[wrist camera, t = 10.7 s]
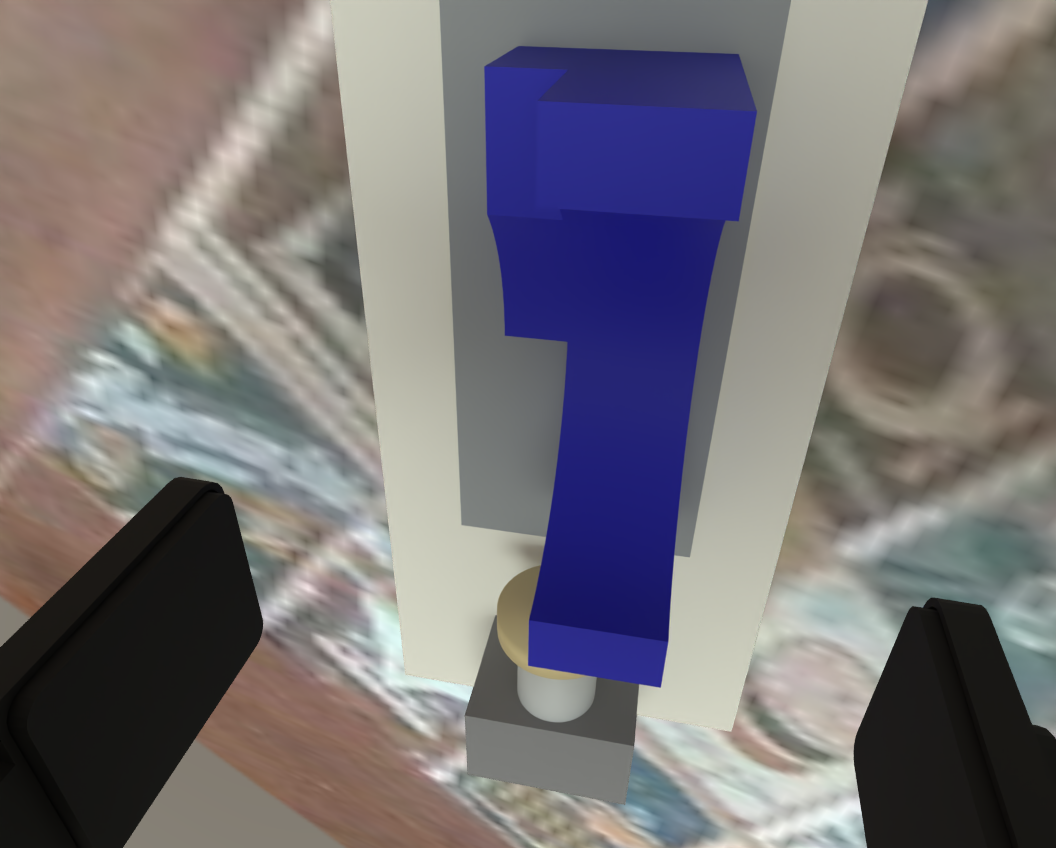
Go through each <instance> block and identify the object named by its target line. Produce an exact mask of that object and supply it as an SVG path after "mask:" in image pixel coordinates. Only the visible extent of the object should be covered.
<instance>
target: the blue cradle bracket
mask: <svg viewBox="0 0 1056 848" xmlns="http://www.w3.org/2000/svg"><path fill="white" fill-rule="evenodd" d="M484 78H485V130H486V182H487V216H488V218H489V221H490V224H491V227H492V230H493V234H494V238H495V241H496V246H497V251H498V256H499V263H500V270H501V278H502V288H503V301H504V324H505V336H512V337H523V338H533V339H543V340H554V341H564V342H567V360H566V375H565V389H564V401H563V412H562V422H561V432H560V441H559V450H558V459H557V467H556V474H555V482H554V489H553V496H552V503H551V510H550V516H549V522H548V528H547V534H546V540H545V546H544V551H543V557H542V562H541V567H540V572H539V577H538V582H537V587H536V591H535V596H534V600H533V605H532V609H531V613H530V617H529V636H528V666H532V667H538V668H544V669H550V670H556V671H562V672H568V673H574V674H580V675H586V676H592V677H598V678H604V679H610V680H616V681H623V682H629V683H635V684H641V685H647V686H653V687H659V688H661V684H662V678H663V672H664V666H665V660H666V654H667V648H668V641H669V622H670V606H671V592H672V578H673V566H674V554H675V542H676V532H677V521H678V511H679V501H680V492H681V482H682V473H683V464H684V456H685V447H686V439H687V431H688V423H689V415H690V408H691V400H692V393H693V385H694V378H695V371H696V365H697V358H698V351H699V345H700V339H701V332H702V326H703V320H704V314H705V308H706V303H707V297H708V292H709V287H710V282H711V276H712V272H713V267H714V262H715V258H716V253H717V249H718V245H719V241H720V237H721V233H722V230H723V227H724V224H725V221H739V217H740V211H741V205H742V199H743V193H744V187H745V181H746V175H747V169H748V163H749V157H750V151H751V145H752V139H753V133H754V127H755V121H756V115H757V109H756V106H755V103H754V100H753V97H752V94H751V91H750V88H749V85H748V81H747V78H746V75H745V72H744V69H743V66H742V63H741V60H740V56H739V54H725V53H698V52H670V51H643V50H615V49H587V48H560V47H532V46H518V47H516V48H514V49H513V50H511V51H509V52H507V53H506V54H504V55H502V56H501V57H499V58H497V59H496V60H494V61H492V62H491V63H489V64H487V65H486V66H484Z"/></svg>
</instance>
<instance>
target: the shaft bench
mask: <svg viewBox="0 0 1056 848" xmlns="http://www.w3.org/2000/svg"><path fill="white" fill-rule="evenodd" d="M927 3H928V0H330V6H331V15H332V24H333V33H334V41H335V50H336V59H337V68H338V77H339V86H340V95H341V104H342V113H343V122H344V131H345V140H346V149H347V157H348V166H349V175H350V184H351V193H352V202H353V211H354V220H355V229H356V238H357V247H358V256H359V265H360V274H361V282H362V291H363V300H364V309H365V318H366V327H367V336H368V345H369V354H370V363H371V372H372V381H373V390H374V398H375V407H376V416H377V425H378V434H379V443H380V452H381V461H382V470H383V479H384V488H385V497H386V506H387V514H388V523H389V532H390V541H391V550H392V559H393V568H394V577H395V586H396V595H397V604H398V613H399V622H400V631H401V639H402V648H403V657H404V666H405V675H410V676H416V677H422V678H427V679H433V680H439V681H444V682H450V683H456V684H462V685H467V686H473V690H472V694H471V697H470V700H469V704H468V707H467V710H466V713H465V729H466V750H467V771H468V775H473V776H479V777H484V778H489V779H494V780H499V781H504V782H510V783H515V784H520V785H525V786H530V787H536V788H541V789H546V790H551V791H556V792H561V793H567V794H572V795H577V796H582V797H587V798H592V799H598V800H603V801H608V802H613V803H618V804H624V805H625V802H626V795H627V789H628V782H629V776H630V769H631V763H632V757H633V750H634V742H635V729H636V717H637V715H639V716H645V717H650V718H656V719H662V720H668V721H673V722H679V723H685V724H690V725H696V726H702V727H708V728H713V729H719V730H725V731H730V732H731V731H732V727H733V724H734V720H735V716H736V713H737V709H738V705H739V701H740V698H741V694H742V690H743V687H744V683H745V679H746V675H747V672H748V668H749V664H750V661H751V657H752V653H753V649H754V646H755V642H756V638H757V635H758V631H759V627H760V623H761V620H762V616H763V612H764V609H765V605H766V601H767V597H768V594H769V590H770V586H771V583H772V579H773V575H774V571H775V568H776V564H777V560H778V557H779V553H780V549H781V545H782V542H783V538H784V534H785V531H786V527H787V523H788V519H789V516H790V512H791V508H792V504H793V501H794V497H795V493H796V490H797V486H798V482H799V478H800V475H801V471H802V467H803V464H804V460H805V456H806V452H807V449H808V445H809V441H810V438H811V434H812V430H813V426H814V423H815V419H816V415H817V412H818V408H819V404H820V400H821V397H822V393H823V389H824V386H825V382H826V378H827V374H828V371H829V367H830V363H831V360H832V356H833V352H834V348H835V345H836V341H837V337H838V334H839V330H840V326H841V322H842V319H843V315H844V311H845V307H846V304H847V300H848V296H849V293H850V289H851V285H852V281H853V278H854V274H855V270H856V267H857V263H858V259H859V255H860V252H861V248H862V244H863V241H864V237H865V233H866V229H867V226H868V222H869V218H870V215H871V211H872V207H873V203H874V200H875V196H876V192H877V189H878V185H879V181H880V177H881V174H882V170H883V166H884V163H885V159H886V155H887V151H888V148H889V144H890V140H891V137H892V133H893V129H894V125H895V122H896V118H897V114H898V110H899V107H900V103H901V99H902V96H903V92H904V88H905V84H906V81H907V77H908V73H909V70H910V66H911V62H912V58H913V55H914V51H915V47H916V44H917V40H918V36H919V32H920V29H921V25H922V21H923V18H924V14H925V10H926V6H927ZM518 46H532V47H560V48H587V49H615V50H643V51H670V52H698V53H725V54H739V56H740V60H741V63H742V66H743V69H744V72H745V75H746V78H747V81H748V85H749V88H750V91H751V94H752V97H753V100H754V103H755V106H756V109H757V115H756V121H755V127H754V133H753V139H752V145H751V151H750V157H749V163H748V169H747V175H746V181H745V187H744V193H743V199H742V205H741V211H740V217H739V221H725V224H724V227H723V230H722V233H721V237H720V241H719V245H718V249H717V253H716V258H715V262H714V267H713V272H712V276H711V282H710V287H709V292H708V297H707V303H706V308H705V314H704V320H703V326H702V332H701V339H700V345H699V351H698V358H697V365H696V371H695V378H694V385H693V393H692V400H691V408H690V415H689V423H688V431H687V439H686V447H685V456H684V464H683V473H682V482H681V492H680V501H679V511H678V521H677V532H676V542H675V554H674V566H673V578H672V592H671V606H670V622H669V641H668V648H667V654H666V660H665V666H664V672H663V678H662V684H661V688H659V687H653V686H647V685H641V684H635V683H629V682H623V681H616V680H610V679H604V678H598V677H592V676H586V675H580V674H574V673H568V672H562V671H556V670H550V669H544V668H538V667H532V666H528V636H529V617H530V613H531V609H532V605H533V600H534V596H535V591H536V587H537V582H538V577H539V572H540V567H541V562H542V557H543V551H544V546H545V540H546V534H547V528H548V522H549V516H550V510H551V503H552V496H553V489H554V482H555V474H556V467H557V459H558V450H559V441H560V432H561V422H562V412H563V401H564V389H565V375H566V360H567V342H564V341H554V340H543V339H533V338H523V337H512V336H505V324H504V301H503V288H502V278H501V270H500V263H499V256H498V251H497V246H496V241H495V238H494V234H493V230H492V227H491V224H490V221H489V218H488V216H487V182H486V130H485V78H484V66H486V65H487V64H489V63H491V62H492V61H494V60H496V59H497V58H499V57H501V56H502V55H504V54H506V53H507V52H509V51H511V50H513V49H514V48H516V47H518Z"/></svg>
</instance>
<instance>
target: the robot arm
mask: <svg viewBox="0 0 1056 848" xmlns="http://www.w3.org/2000/svg"><path fill="white" fill-rule="evenodd" d="M262 630H263V618H262V615H261V611H260V607H259V603H258V599H257V595H256V591H255V587H254V583H253V579H252V575H251V572H250V568H249V564H248V560H247V556H246V552H245V548H244V544H243V540H242V536H241V532H240V528H239V525H238V521H237V517H236V513H235V509H234V505H233V502H232V499H231V497H230V496H229V495H226V494H224V491H223V489H222V487H221V486H220V485H219V484H218V483H214V482H209V481H203V480H197V479H190V478H184V477H178V478H174V479H173V480H172V481H170V482H169V483H168V484H167V485H166V486H165V487H164V488H163V489H162V490H161V491H160V492H159V493H158V494H157V495H156V496H155V497H154V498H153V499H152V500H150V501H149V502H148V503H147V504H146V505H145V506H144V507H143V508H142V509H141V510H140V511H139V512H138V513H137V514H136V515H135V516H134V517H133V518H132V519H131V520H130V521H129V522H128V523H127V524H126V525H125V526H124V527H123V528H122V529H121V530H120V531H119V532H118V533H117V534H116V535H115V536H114V537H113V538H112V539H111V540H110V541H109V542H108V543H107V544H106V545H104V546H103V547H102V548H101V549H100V550H99V551H98V552H97V553H96V554H95V555H94V556H93V557H92V558H91V559H90V560H89V561H88V562H87V563H86V564H85V565H84V566H83V567H82V568H81V569H80V570H79V571H78V572H77V573H76V574H75V575H74V576H73V577H72V578H71V579H70V580H69V581H68V582H67V583H66V584H65V585H64V586H63V587H62V588H61V589H60V590H58V591H57V592H56V593H55V594H54V595H53V596H52V597H51V598H50V599H49V600H48V601H47V602H46V603H45V604H44V605H43V606H42V607H41V608H40V609H39V610H38V611H37V612H36V613H35V614H34V615H33V616H32V617H31V618H30V619H29V620H28V621H27V622H26V623H25V624H24V625H23V626H22V627H21V628H20V629H19V630H18V631H17V632H16V633H15V634H14V635H13V636H12V637H11V638H9V639H8V640H7V641H6V643H4V644H3V645H2V646H1V647H0V848H123V847H124V845H125V844H126V842H127V840H128V839H129V838H130V836H131V835H132V833H133V832H134V830H135V829H136V827H137V826H138V824H139V822H140V821H141V819H142V818H143V816H144V815H145V813H146V812H147V810H148V809H149V807H150V806H151V804H152V803H153V801H154V800H155V798H156V797H157V795H158V794H159V792H160V791H161V789H162V788H163V786H164V785H165V783H166V782H167V780H168V779H169V777H170V776H171V774H172V773H173V771H174V770H175V768H176V767H177V765H178V764H179V762H180V761H181V759H182V758H183V756H184V755H185V753H186V751H187V750H188V749H189V747H190V746H191V744H192V743H193V741H194V740H195V738H196V736H197V735H198V733H199V732H200V730H201V729H202V727H203V726H204V724H205V723H206V721H207V720H208V718H209V717H210V715H211V714H212V712H213V711H214V709H215V708H216V706H217V705H218V703H219V702H220V700H221V699H222V697H223V696H224V694H225V693H226V691H227V690H228V688H229V687H230V685H231V684H232V682H233V681H234V679H235V678H236V676H237V675H238V673H239V672H240V670H241V669H242V667H243V666H244V664H245V663H246V661H247V660H248V658H249V656H250V655H251V653H252V652H253V650H254V649H255V647H256V646H257V644H258V642H259V640H260V637H261V634H262ZM854 766H855V773H856V779H857V786H858V792H859V798H860V805H861V811H862V818H863V824H864V831H865V837H866V843H867V848H1056V739H1055V737H1054V736H1053V735H1052V734H1051V733H1050V732H1049V731H1048V730H1047V729H1046V728H1043V727H1040V726H1037V725H1032V723H1031V721H1030V718H1029V716H1028V713H1027V710H1026V708H1025V705H1024V703H1023V700H1022V698H1021V695H1020V692H1019V690H1018V687H1017V685H1016V682H1015V680H1014V677H1013V674H1012V672H1011V669H1010V667H1009V664H1008V662H1007V659H1006V657H1005V654H1004V651H1003V649H1002V646H1001V644H1000V641H999V639H998V636H997V633H996V631H995V628H994V626H993V623H992V621H991V618H990V616H989V614H988V612H987V610H986V609H985V608H984V607H983V606H982V605H976V604H970V603H964V602H958V601H951V600H945V599H939V598H930V599H929V600H928V601H927V602H926V604H925V605H924V607H923V608H921V607H914V606H912V607H911V608H910V609H909V611H908V613H907V615H906V617H905V620H904V622H903V625H902V627H901V629H900V632H899V634H898V637H897V639H896V641H895V644H894V646H893V648H892V651H891V653H890V656H889V658H888V660H887V663H886V665H885V668H884V670H883V672H882V675H881V677H880V679H879V682H878V684H877V687H876V689H875V691H874V694H873V696H872V698H871V701H870V703H869V706H868V708H867V710H866V713H865V715H864V718H863V720H862V722H861V725H860V727H859V729H858V732H857V735H856V738H855V743H854Z"/></svg>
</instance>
